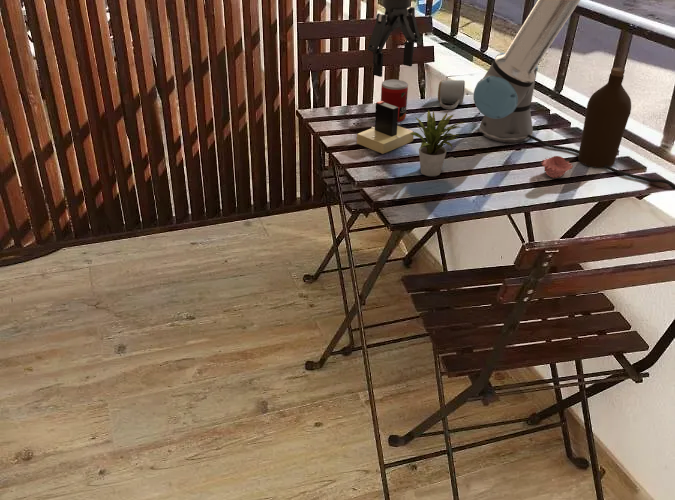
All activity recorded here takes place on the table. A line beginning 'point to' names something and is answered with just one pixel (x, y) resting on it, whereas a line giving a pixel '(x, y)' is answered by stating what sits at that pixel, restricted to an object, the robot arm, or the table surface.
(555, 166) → the flower
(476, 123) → the table surface
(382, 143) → the tan box
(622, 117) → the olive oil
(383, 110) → the red-topped black block
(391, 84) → the canned food
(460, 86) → the ceramic mug
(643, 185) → the table surface
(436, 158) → the house plant
